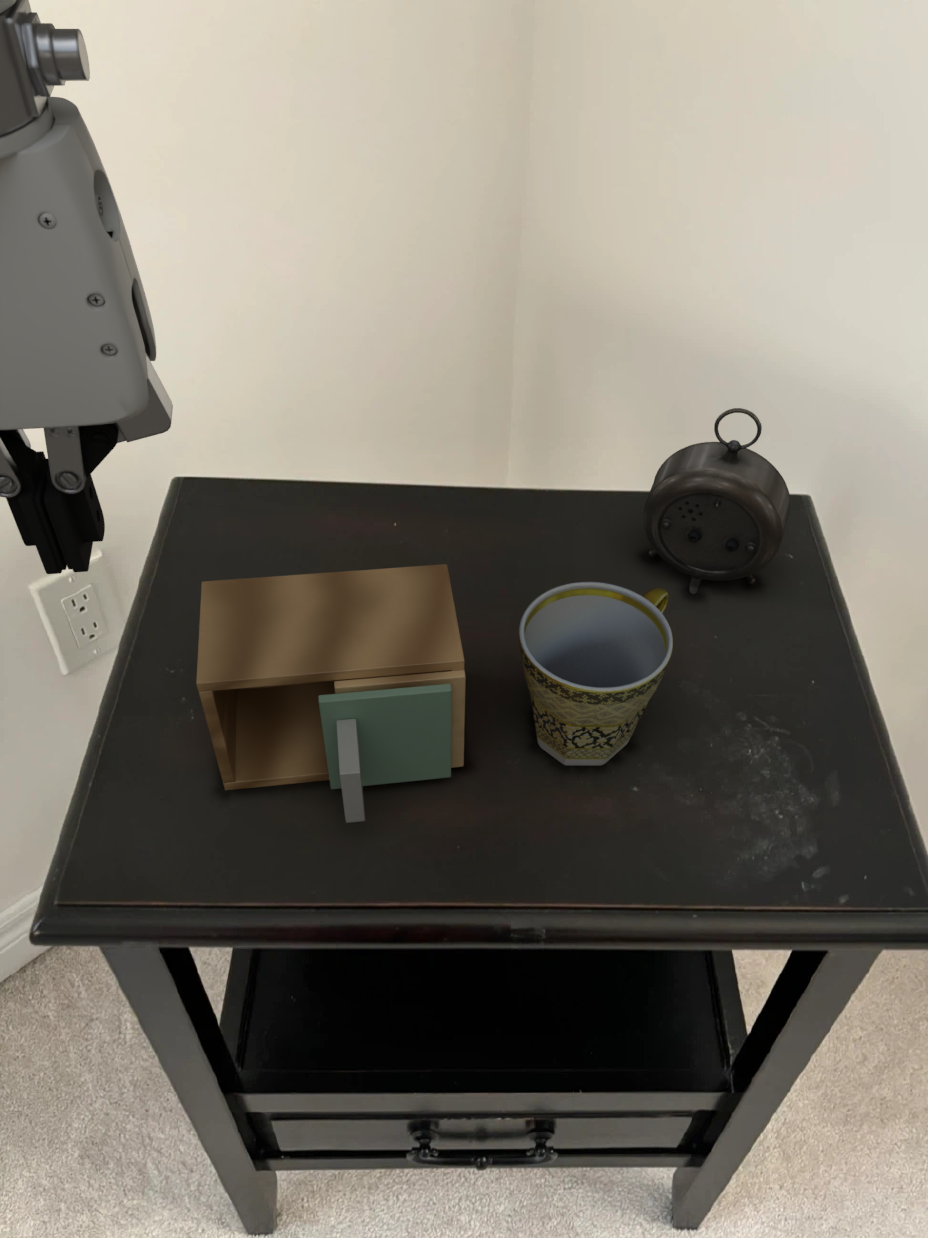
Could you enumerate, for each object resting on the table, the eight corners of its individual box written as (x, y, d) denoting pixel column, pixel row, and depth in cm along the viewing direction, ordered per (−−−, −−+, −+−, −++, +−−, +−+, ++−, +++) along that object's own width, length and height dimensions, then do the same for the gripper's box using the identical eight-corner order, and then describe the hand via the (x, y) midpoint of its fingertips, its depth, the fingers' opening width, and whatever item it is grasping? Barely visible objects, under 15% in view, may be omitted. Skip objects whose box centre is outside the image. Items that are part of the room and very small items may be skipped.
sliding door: (333, 843, 65) (321, 758, 59) (330, 782, 68) (318, 694, 62) (459, 830, 66) (460, 744, 60) (450, 770, 70) (450, 683, 63)
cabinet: (224, 798, 68) (195, 691, 60) (227, 690, 75) (201, 581, 67) (463, 773, 71) (465, 667, 63) (446, 671, 77) (447, 563, 69)
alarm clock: (769, 575, 86) (822, 406, 74) (758, 617, 83) (812, 447, 71) (643, 542, 88) (674, 373, 76) (627, 582, 85) (657, 411, 73)
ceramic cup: (589, 813, 69) (606, 716, 62) (482, 731, 73) (486, 631, 66) (702, 709, 76) (730, 611, 68) (598, 640, 80) (613, 540, 73)
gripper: (174, 33, 34) (252, 487, 47) (-329, 31, 32) (-96, 507, 45) (159, 120, 29) (251, 598, 42) (-437, 125, 27) (-139, 627, 40)
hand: (72, 550), depth 44 cm, fingers closed
